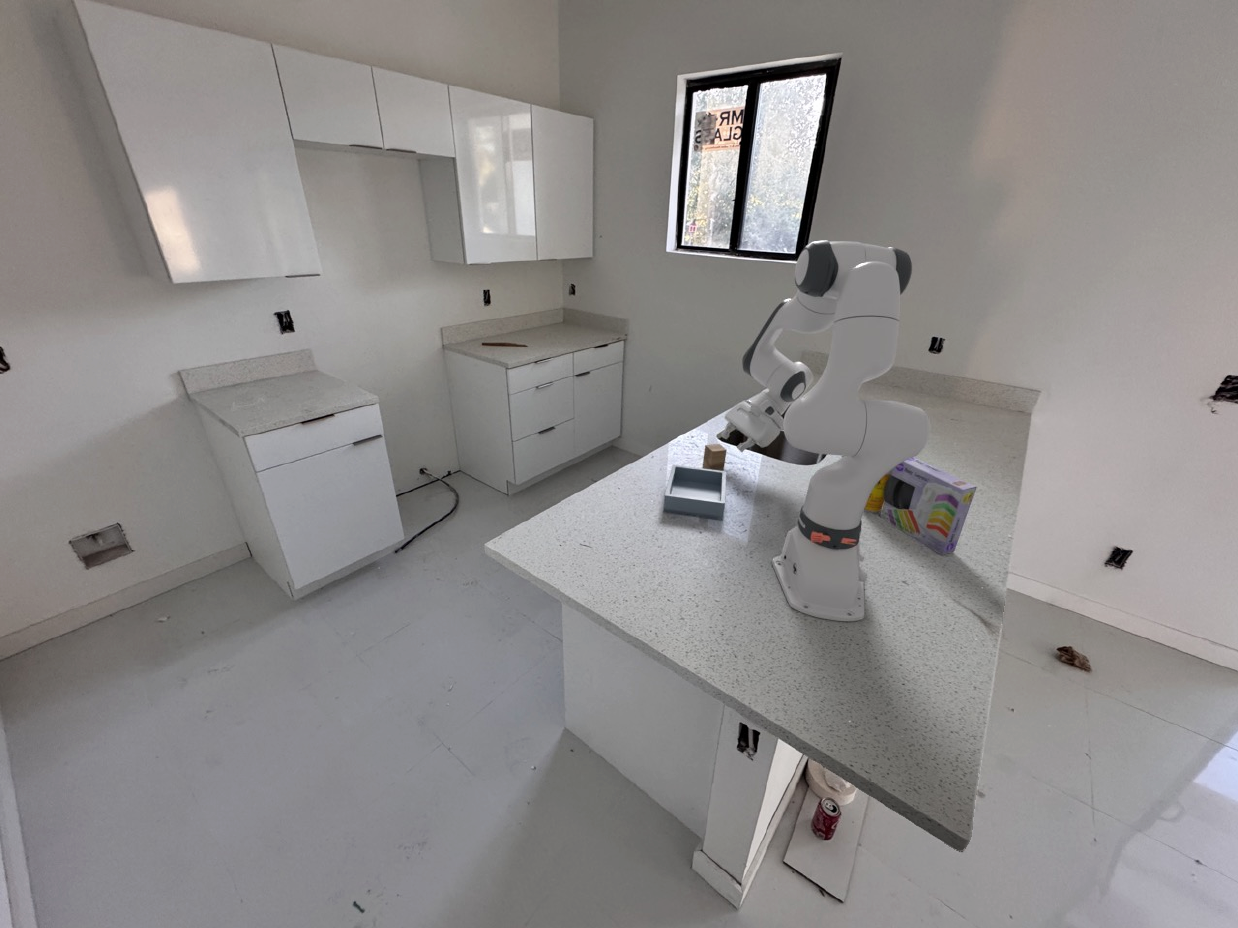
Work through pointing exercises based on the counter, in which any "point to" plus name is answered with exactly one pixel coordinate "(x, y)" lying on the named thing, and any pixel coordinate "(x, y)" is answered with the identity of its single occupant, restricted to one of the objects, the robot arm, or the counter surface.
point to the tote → (696, 492)
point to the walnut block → (714, 457)
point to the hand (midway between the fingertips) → (730, 443)
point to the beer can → (877, 495)
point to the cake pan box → (927, 504)
